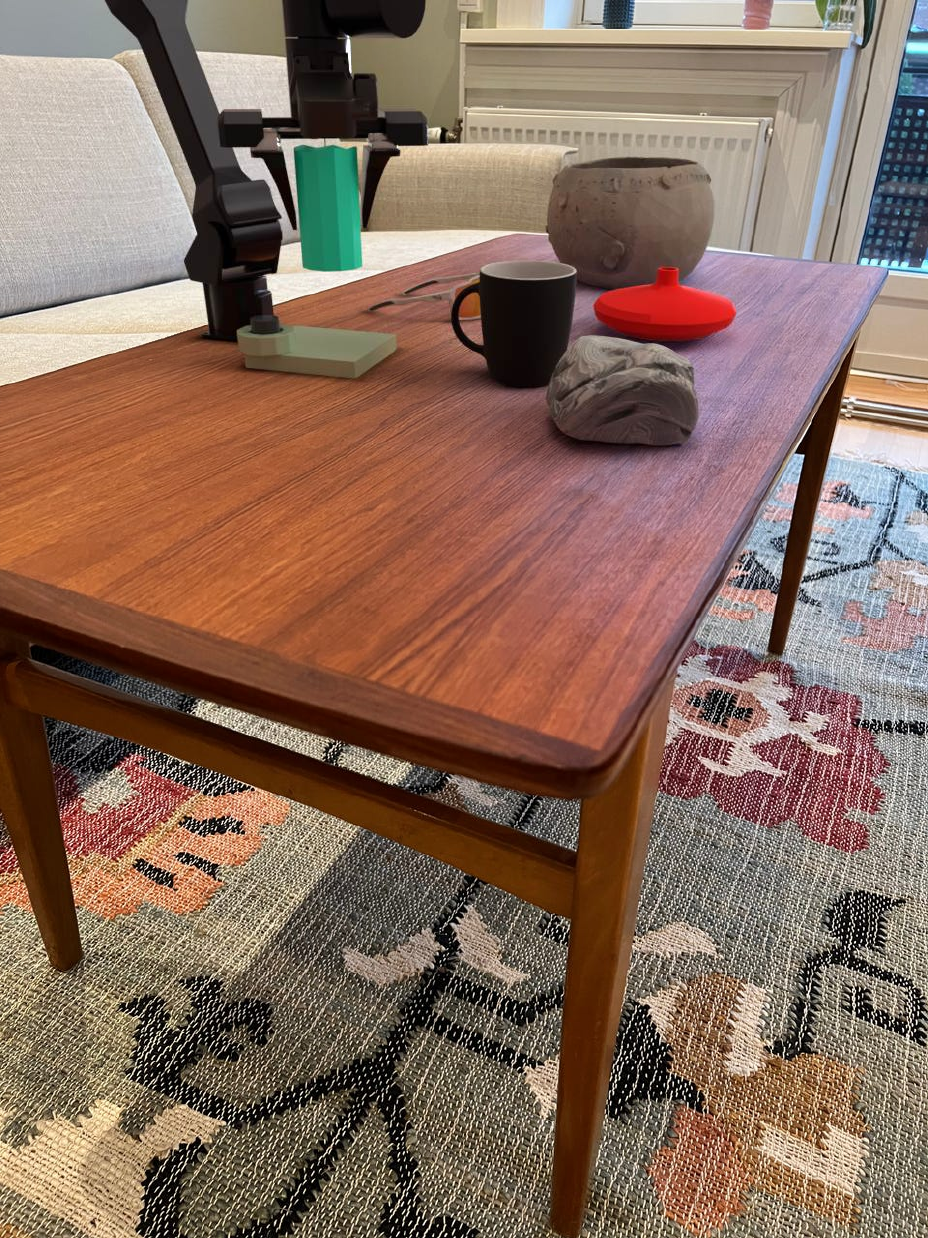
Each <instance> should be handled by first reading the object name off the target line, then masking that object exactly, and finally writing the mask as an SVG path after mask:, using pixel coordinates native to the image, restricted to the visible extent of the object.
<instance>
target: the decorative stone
mask: <svg viewBox="0 0 928 1238" xmlns="http://www.w3.org/2000/svg"><path fill="white" fill-rule="evenodd" d="M545 401H546V404H547V406H548V410H549V413H550V416H551V419H552V420H553V421H554V423H555V424H556V426H557V428H558V429H559V431H561V432H562V433H563V434H565V435H567V436H569V437H572V438H573V439H576V440H579V441H588V442H589V441H593V442H600V443H605V444H606V443H607V444H608V443H610V444H630V445H631V444H632V445H634V444H643V445H648V446H670V445H677V444H679V445H683V444H685V443H687V442H689V439H690V438H691V435H692V433H693V432H694V431H695V430H696V426H697V424H698V421H699V411H700V410H699V403H698V398H697V394H696V390H695V368H694V366H693V364H692V362H691V361H690V360H689V359H687V358H686V357H684V356H682V355H680V354H678V353H676V352H675V351H673V350H672V349H670V348H668V347H666V346H664V345H661V344H659V343H641V342H638V341H634V340H629V339H624V338H619V337H612V336H606V335H591V334H589V335H582V336H580V337H579V338H577V339H576V340H575V341H574V342H573V343H572V344H571V345H570V346H568V348H567V351H566V352H565V353H564V355H563V356H562V357H561V359H560V360H559V362H558V364H557V366H556V368H555V370H554V372H553V374H552V377H551V380H550V383H549V384H548V385H547V392H546V395H545Z"/></svg>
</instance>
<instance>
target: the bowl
mask: <svg viewBox="0 0 928 1238" xmlns="http://www.w3.org/2000/svg"><path fill="white" fill-rule="evenodd" d="M711 182H712V178H711V175H710V173H708V171H707V169H706V168H705V166H703V164H702V163H701V162H698V161H696V160H692V159H687V158H681V157H679V158H678V157H666V156H665V157H664V156H661V157H660V156H658V157H657V156H656V157H654V156H653V157H651V156H650V157H644V156H619V157H617V156H616V157H606V158H599V159H593V160H588V161H582V162H574V163H569V164H567V165H565V166H564V167H563V168H562V169H561V170H560V171H559V172H558V173H556V174H555V176H554V177H553V178H552V184H553V185H552V188H551V192H550V196H549V200H548V205H547V213H546V223H547V225H545V226H544V229H545V233H547V235H548V242H549V243H550V244H551V247H552V250H553V252H554V253H555V256H556V257H557V259H558V261H559V263H562V264H566V265H569V266H572V267H574V268H575V269H576V271H577V281H579V282H581V283H582V284H585V285H588V286H592V287H598V288H606V289H621V288H628V287H634V286H641V285H650V284H654V283H656V280H657V274H658V268H660V267H674V268H678V269H679V272H678V283H681V282H683V281H684V280H685V279H686V278H687V277H688V276H690V275H691V274H692V273H693V272H694V270H695V269H696V267H697V266H698V265H699V263H700V262H701V260H702V259H703V257H704V255H705V253H706V250H707V248H708V245H709V242H710V240H711V236H712V233H713V228H714V222H715V219H716V218H715V217H716V200H715V192H714V190H713V186H712V183H711Z"/></svg>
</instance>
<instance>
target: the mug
mask: <svg viewBox="0 0 928 1238" xmlns="http://www.w3.org/2000/svg"><path fill="white" fill-rule="evenodd" d="M479 272H480V279H479V282H478V283H475V284H472V285H470V286H468V287H466V288H465V289H463V290H462V291H461V292H460V293H459V295H458V296H457V297H456V299H455V301H454V303H453V306H452V311H451V315H450V321H451V322H450V323H451V327H452V330H453V333H454V334H455V336H456V339H458V341H459V342H460V343H461V344H462V345H463V346H464V347H465V348H467V349H468V350H470V351H472V352H474V353H476V354H479V355H480V356H481V357H483V358H484V359H485V361H486V366H487V370H488V372H489V375H490V376H491V378H492V380H494V381H495V382H497V383H499V384H501V385H505V386H508V387H515V388H539V387H544V386H548V385H549V383H550V380H551V377H552V374H553V372H554V370H555V368H556V366H557V364H558V362H559V360H560V359H561V357H562V356H563V355H564V353H565V352H566V351H567V350H568V348H569V343H570V342H569V341H570V336H571V331H572V326H573V325H572V324H573V316H574V309H575V302H576V292H577V283H578V282H577V281H578V280H577V271H576V269H575V268H574V267H572V266H569V265H566V264H562V263H560V262H557V261H556V262H555V261H547V260H528V259H526V260H525V259H522V260H520V259H519V260H518V259H517V260H505V261H504V260H502V261H497V262H491V263H488V264H487V263H486V264H484V265H482V266H481V267H480V269H479ZM472 293H478V295H479V297H480V312H481V318H480V324H481V335H482V342H483V344H478V343H476V342H474V341H473V340H471V339H470V338H469V337H468V336H467V334H466V333H465V332H464V331H463V328H462V325H461V323H460V320H459V309H460V306H461V303H462V302H463V300H464V299H465V298H466V297H467V296H468V295H469V294H472Z"/></svg>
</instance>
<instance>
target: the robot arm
mask: <svg viewBox="0 0 928 1238" xmlns="http://www.w3.org/2000/svg"><path fill="white" fill-rule="evenodd" d="M104 2H105V4H106V6H107V8H108V10H109V12H110V14H112V16H113V17H114V18H115V19H116V20H118V21H119V22H120V23H121V25H122V26H124V27H125V28H126V29H127V31H128V32H130V33H131V34H132V35H133V36H134V37H135V38H136V39H137V41H138V43H139V46H140V48H141V50H142V53H143V55H144V57H145V60H146V63H147V66H148V68H149V70H150V74H151V75H152V78H153V81H154V83H155V86H156V89H157V91H158V93H159V95H160V98H161V101H162V103H163V106H164V108H165V111H166V113H167V116H168V118H169V121H170V124H171V126H172V128H173V132H174V134H175V136H176V139H177V141H178V144H179V146H180V149H181V153H182V154H183V156H184V160H185V162H186V164H187V166H188V169H189V172H190V175H191V177H192V179H193V182H194V186H195V189H194V198H193V205H192V213H191V217H192V221H193V225H194V227H195V231H196V235H195V237H194V239H193V240H192V243H191V245H190V247H189V249H188V251H187V252H186V254H185V256H184V258H183V264H184V266H185V270H186V272H187V275H188V279H189V281H191V282H197V283H200V284H202V290H203V291H202V292H203V299H204V304H205V312H206V318H207V319H206V320H207V326H208V329H207V330H205V331H203V332H201V333H200V334H201V338H202V339H209V340H221V341H230V342H238V339H237V330H238V329H240V328H242V327H245V326H249V325H251V320H250V319H251V318H252V317H254V316H259V315H274V316H275V314H274V304H273V293H272V291H271V290H269V289H268V279H267V275H276V274H277V273H278V268H279V262H280V254H281V248H282V243H283V242H282V241H283V240H284V235H283V230H282V225H281V222H280V220H282V219H283V216H282V214H281V213H280V212H279V210H278V208H277V206H276V204H275V202H274V198H273V195H272V191H271V187H270V186H269V183H268V182H267V181H266V180H265V179H255V180H252V179H251V178H250V177H249V176H248V175H247V174H246V173H245V172H244V171H243V170H242V168H241V165H240V164H239V160H238V158H237V156H236V153H235V150H234V148H235V149H236V148H239V149H240V148H249V151H250V152H249V153H250V158H252V159H261V160H262V161H263V162H264V164H265V166H266V168H267V170H268V172H269V174H270V176H271V178H272V180H273V182H274V184H275V186H276V188H277V191H278V193H279V197H280V199H281V202H282V204H283V206H284V209H285V212H286V215H287V217H288V220H289V223H290V226H291V228H292V231H298V225H297V224H298V223H297V213H296V207H295V202H294V197H293V194H292V193H293V192H292V189H291V188H292V187H291V183H290V178H289V174H288V169H287V163H286V158H285V153H284V150H283V147H282V146H281V145H279V144H281V143H282V142H281V141H282V140H324V139H326V140H327V139H328V140H329V139H330V140H332V139H333V140H338V139H339V140H350V139H352V140H353V139H354V140H355V139H365V140H366V142H367V145H365V144H364V145H362V160H361V161H362V163H361V165H362V166H361V183H360V184H361V186H360V225H361V229H367V228H368V225H369V221H370V218H371V214H372V210H373V206H374V201H375V198H376V195H377V190H378V187H379V183H380V181H381V179H382V176H383V174H384V171H385V169H386V167H387V165H388V163H389V161H390V159H392V158H395V157H396V158H397V157H401V154H402V153H401V152H402V150H401V149H399V148H398V147H426V146H429V124H428V123H429V122H428V118H427V117H426V116H425V114H424V113H423V112H422V111H421V110H419V109H416V108H379V94H378V93H379V91H378V78H377V75H376V73H374V72H372V73H371V72H370V73H369V72H368V73H366V72H365V73H363V72H359V73H357V72H356V73H354V74H353V72H352V71H353V69H352V52H351V51H352V50H351V49H352V48H351V47H352V46H351V39H350V38H352V39H407V38H411V37H412V36H413V35H414V34H416V33H417V31H418V30H419V29H420V27H421V25H422V22H423V20H424V16H425V12H426V2H427V0H281V7H282V8H281V9H282V21H283V35H284V47H285V48H284V49H285V60H286V61H285V62H286V71H287V86H288V87H287V88H288V98H289V108H290V111H289V112H290V116H287V117H286V116H263V112H262V108H224V109H222V110H221V112H220V111H219V109H218V106H217V103H216V101H215V98H214V95H213V93H212V90H211V87H210V85H209V82H208V79H207V77H206V75H205V72H204V69H203V66H202V64H201V61H200V58H199V56H198V54H197V51H196V48H195V45H194V43H193V40H192V38H191V36H190V32H189V30H188V26H187V24H186V22H187V21H186V20H187V13H188V5H189V0H104Z"/></svg>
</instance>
